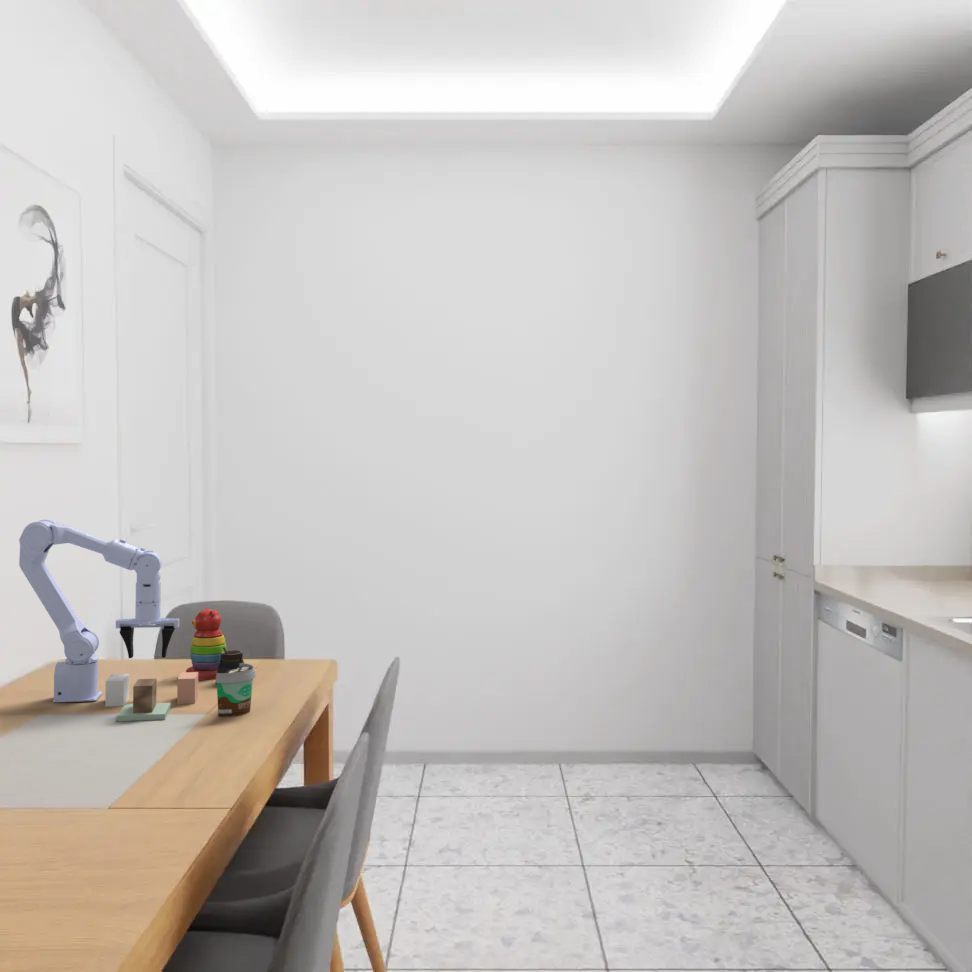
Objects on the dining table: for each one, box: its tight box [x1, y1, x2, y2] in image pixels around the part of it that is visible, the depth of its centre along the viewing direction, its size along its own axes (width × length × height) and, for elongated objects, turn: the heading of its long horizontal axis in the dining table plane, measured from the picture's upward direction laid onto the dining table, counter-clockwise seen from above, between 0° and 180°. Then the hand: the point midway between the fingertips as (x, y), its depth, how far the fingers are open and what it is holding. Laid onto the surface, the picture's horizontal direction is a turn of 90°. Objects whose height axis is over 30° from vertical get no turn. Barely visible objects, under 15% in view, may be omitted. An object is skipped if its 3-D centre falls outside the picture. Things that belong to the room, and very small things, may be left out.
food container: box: [215, 662, 257, 718], centre depth 212 cm, size 12×6×10 cm, turn 168°
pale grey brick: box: [104, 673, 130, 707], centre depth 219 cm, size 4×7×6 cm, turn 12°
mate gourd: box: [217, 647, 245, 673], centre depth 241 cm, size 7×8×10 cm
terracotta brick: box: [176, 671, 199, 705], centre depth 223 cm, size 4×7×6 cm, turn 12°
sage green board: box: [116, 702, 172, 722], centre depth 209 cm, size 10×10×1 cm
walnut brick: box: [132, 678, 158, 713], centre depth 209 cm, size 4×7×6 cm, turn 12°
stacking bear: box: [185, 607, 228, 682], centre depth 248 cm, size 11×10×18 cm
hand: (147, 657), depth 226 cm, fingers open, 7 cm apart
